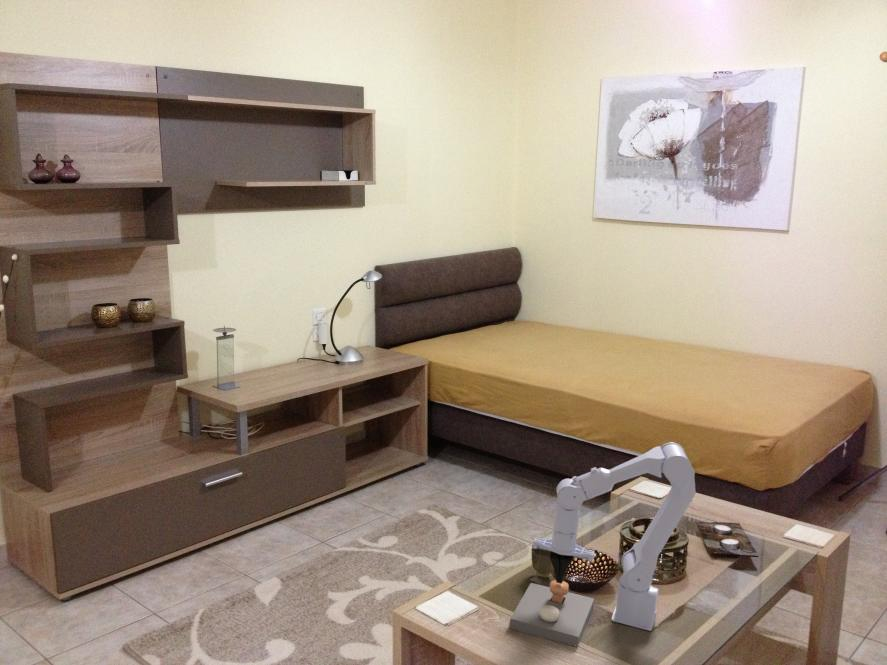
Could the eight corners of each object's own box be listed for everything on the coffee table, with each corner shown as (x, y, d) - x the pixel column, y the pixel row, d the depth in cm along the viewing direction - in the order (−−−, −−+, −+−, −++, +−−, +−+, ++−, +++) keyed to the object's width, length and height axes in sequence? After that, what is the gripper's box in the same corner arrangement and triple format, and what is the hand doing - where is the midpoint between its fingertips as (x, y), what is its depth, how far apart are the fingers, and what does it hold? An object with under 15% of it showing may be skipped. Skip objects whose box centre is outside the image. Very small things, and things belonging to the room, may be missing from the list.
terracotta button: (568, 597, 199) (570, 582, 198) (564, 606, 195) (566, 591, 194) (551, 593, 201) (552, 578, 200) (546, 601, 197) (548, 586, 196)
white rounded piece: (559, 623, 191) (561, 608, 190) (554, 633, 187) (556, 617, 186) (541, 618, 193) (542, 603, 192) (536, 628, 189) (538, 612, 188)
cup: (556, 585, 209) (559, 557, 207) (527, 581, 210) (530, 552, 209) (558, 571, 216) (561, 544, 214) (530, 567, 217) (533, 539, 216)
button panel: (593, 607, 200) (594, 598, 199) (577, 646, 183) (578, 637, 183) (530, 591, 205) (531, 582, 205) (509, 628, 189) (510, 618, 188)
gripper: (599, 529, 195) (592, 580, 198) (540, 516, 200) (535, 566, 203) (593, 541, 189) (586, 594, 192) (532, 527, 194) (527, 579, 197)
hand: (559, 581), depth 197 cm, fingers closed
